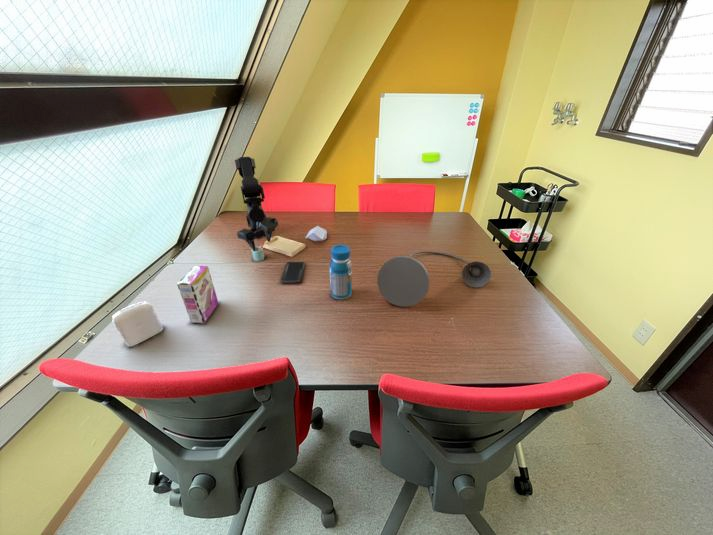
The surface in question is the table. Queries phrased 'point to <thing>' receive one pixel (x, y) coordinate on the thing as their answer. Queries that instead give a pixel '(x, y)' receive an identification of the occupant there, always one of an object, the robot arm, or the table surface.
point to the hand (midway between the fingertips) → (261, 245)
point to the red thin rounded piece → (261, 246)
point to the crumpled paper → (317, 234)
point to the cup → (258, 254)
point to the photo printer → (137, 323)
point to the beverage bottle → (340, 272)
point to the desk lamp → (420, 278)
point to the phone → (293, 272)
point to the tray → (284, 246)
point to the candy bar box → (198, 294)
